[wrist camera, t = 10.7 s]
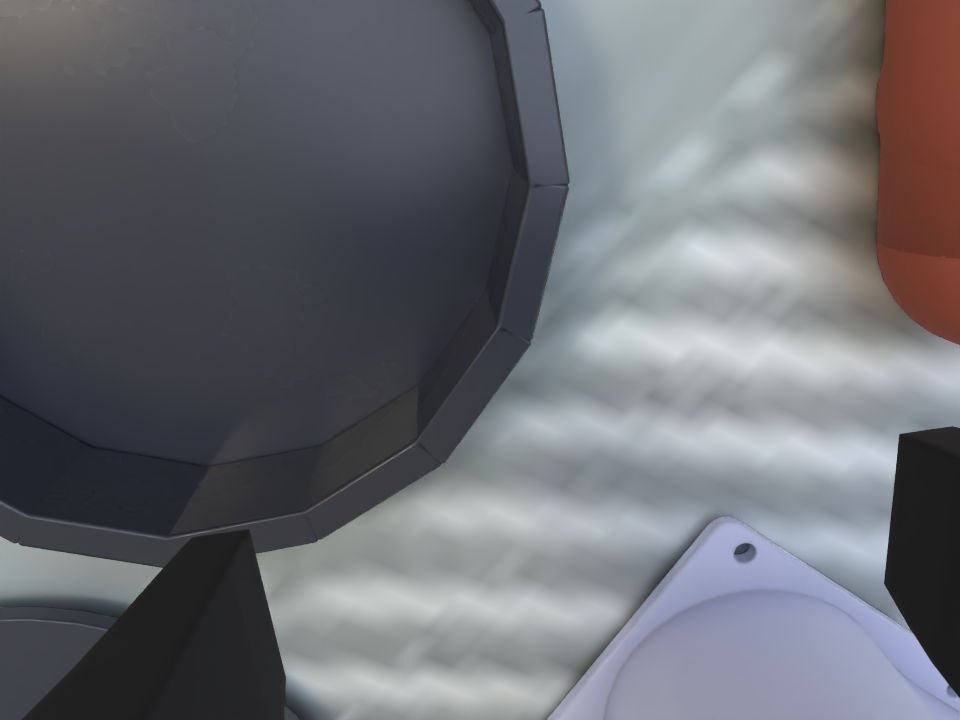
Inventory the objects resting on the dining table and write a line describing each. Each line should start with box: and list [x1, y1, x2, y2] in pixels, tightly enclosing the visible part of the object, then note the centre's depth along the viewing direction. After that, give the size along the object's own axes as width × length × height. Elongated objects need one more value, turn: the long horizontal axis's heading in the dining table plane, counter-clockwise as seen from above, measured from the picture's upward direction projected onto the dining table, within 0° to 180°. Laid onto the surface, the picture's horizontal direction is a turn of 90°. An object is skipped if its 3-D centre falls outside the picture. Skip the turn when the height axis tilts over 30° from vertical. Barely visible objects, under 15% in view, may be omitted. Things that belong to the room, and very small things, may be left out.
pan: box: [0, 0, 570, 568], centre depth 16 cm, size 14×14×4 cm
